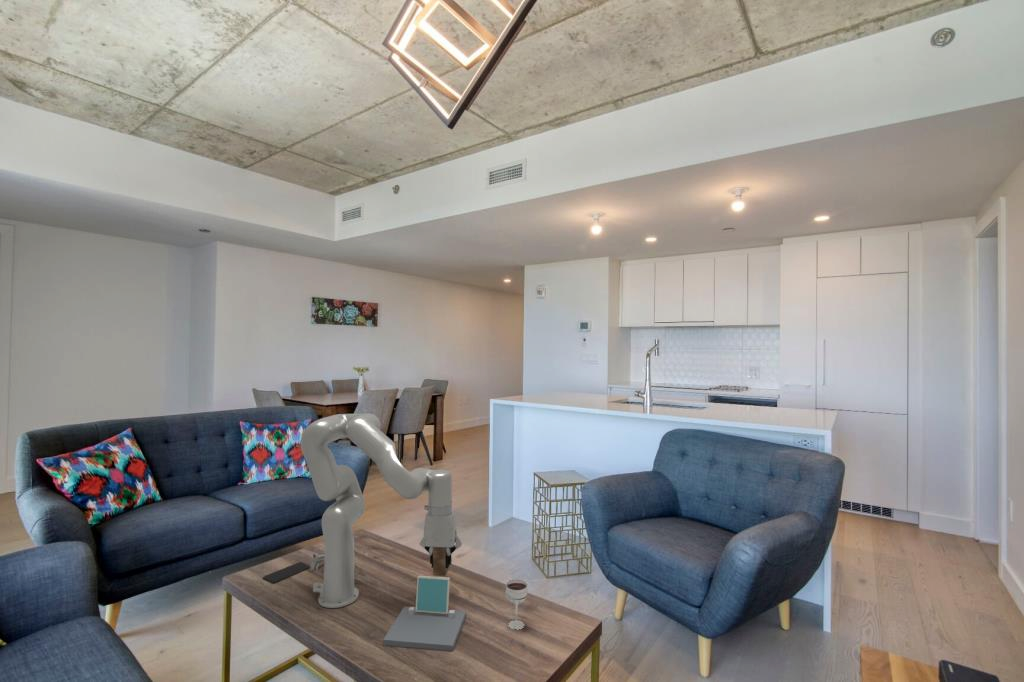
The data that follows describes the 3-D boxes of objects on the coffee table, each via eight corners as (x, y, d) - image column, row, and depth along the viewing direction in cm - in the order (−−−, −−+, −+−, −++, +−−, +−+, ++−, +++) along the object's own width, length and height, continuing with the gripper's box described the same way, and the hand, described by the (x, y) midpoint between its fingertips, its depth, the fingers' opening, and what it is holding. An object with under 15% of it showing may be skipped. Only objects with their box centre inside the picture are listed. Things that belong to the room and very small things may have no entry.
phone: (311, 566, 178) (273, 582, 166) (311, 568, 178) (273, 585, 166) (300, 561, 182) (261, 577, 170) (300, 563, 182) (261, 579, 170)
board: (383, 645, 133) (383, 633, 133) (404, 611, 149) (404, 601, 149) (452, 651, 130) (452, 639, 130) (466, 616, 147) (466, 606, 147)
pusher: (433, 575, 151) (432, 544, 151) (436, 569, 155) (436, 538, 155) (445, 575, 151) (445, 544, 151) (448, 569, 155) (448, 539, 155)
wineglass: (502, 620, 145) (502, 581, 145) (522, 616, 147) (522, 577, 147) (509, 633, 138) (510, 592, 138) (531, 628, 141) (531, 588, 141)
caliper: (311, 573, 174) (312, 556, 174) (310, 572, 175) (310, 555, 175) (354, 552, 192) (354, 536, 192) (352, 551, 193) (353, 536, 193)
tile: (416, 610, 146) (415, 611, 145) (418, 575, 148) (417, 576, 147) (448, 612, 145) (447, 614, 144) (449, 577, 147) (449, 578, 146)
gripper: (411, 512, 151) (412, 570, 150) (463, 514, 149) (463, 572, 148) (418, 504, 158) (419, 560, 158) (468, 506, 156) (468, 561, 156)
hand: (440, 565), depth 153 cm, fingers closed on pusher, 4 cm apart
